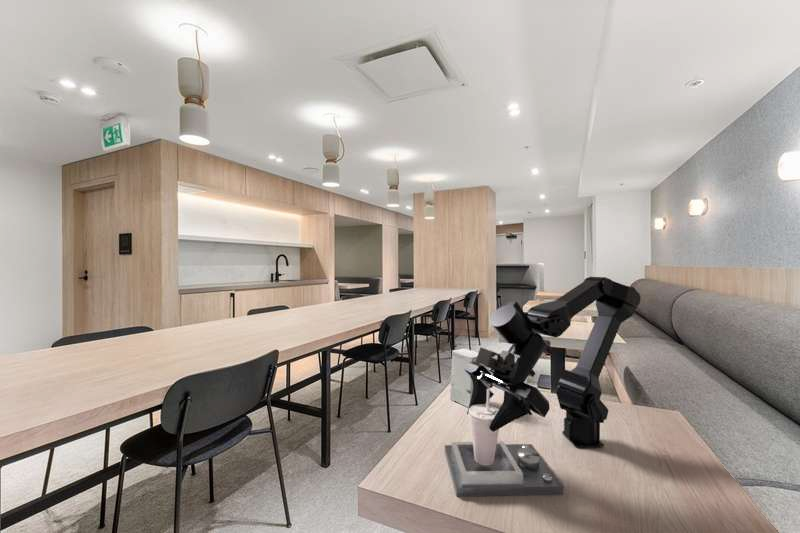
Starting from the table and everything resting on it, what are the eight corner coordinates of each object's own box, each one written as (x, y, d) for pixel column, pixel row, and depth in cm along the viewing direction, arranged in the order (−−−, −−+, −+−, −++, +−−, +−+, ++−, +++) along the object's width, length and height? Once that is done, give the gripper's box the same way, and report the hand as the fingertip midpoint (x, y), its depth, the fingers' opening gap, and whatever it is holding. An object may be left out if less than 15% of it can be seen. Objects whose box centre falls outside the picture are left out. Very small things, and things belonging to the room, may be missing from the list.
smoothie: (507, 466, 65) (509, 394, 64) (477, 472, 63) (478, 398, 62) (490, 447, 71) (491, 381, 70) (461, 452, 69) (463, 384, 69)
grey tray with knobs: (531, 450, 75) (531, 435, 75) (563, 494, 61) (563, 475, 61) (444, 452, 75) (444, 436, 75) (456, 496, 61) (456, 476, 61)
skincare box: (449, 400, 102) (449, 350, 102) (463, 395, 106) (463, 347, 106) (471, 409, 96) (471, 356, 95) (485, 404, 99) (485, 353, 99)
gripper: (470, 325, 76) (428, 382, 72) (537, 343, 60) (488, 420, 55) (498, 355, 80) (459, 412, 75) (568, 380, 63) (524, 455, 59)
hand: (479, 422), depth 66 cm, fingers closed on smoothie, 6 cm apart
